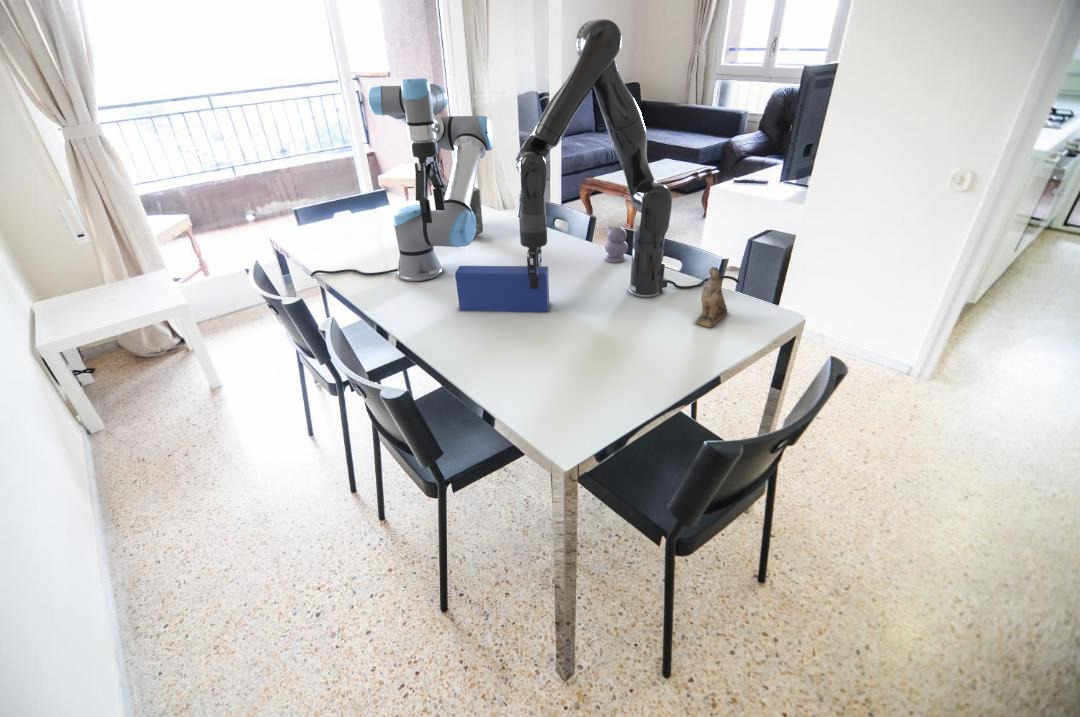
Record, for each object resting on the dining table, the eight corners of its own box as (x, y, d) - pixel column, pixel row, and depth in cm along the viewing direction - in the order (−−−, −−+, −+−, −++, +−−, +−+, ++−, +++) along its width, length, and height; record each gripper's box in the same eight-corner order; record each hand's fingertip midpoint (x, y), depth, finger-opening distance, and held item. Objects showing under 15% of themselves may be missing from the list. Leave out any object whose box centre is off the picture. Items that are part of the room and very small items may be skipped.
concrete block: (488, 238, 207) (483, 189, 196) (469, 243, 203) (464, 193, 192) (458, 224, 226) (452, 179, 215) (440, 228, 221) (434, 182, 211)
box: (459, 310, 149) (454, 273, 143) (464, 302, 154) (459, 265, 148) (547, 312, 147) (546, 273, 140) (549, 303, 152) (548, 266, 145)
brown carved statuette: (709, 335, 136) (713, 280, 124) (691, 329, 139) (693, 274, 128) (730, 313, 142) (736, 258, 130) (712, 307, 145) (716, 253, 133)
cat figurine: (631, 259, 181) (633, 226, 175) (619, 265, 176) (620, 231, 170) (612, 254, 186) (614, 222, 180) (599, 259, 181) (600, 227, 175)
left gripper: (422, 148, 129) (434, 228, 140) (447, 134, 150) (456, 205, 162) (395, 148, 130) (409, 228, 141) (423, 135, 151) (433, 205, 162)
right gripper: (544, 235, 130) (546, 294, 139) (549, 219, 142) (550, 274, 151) (516, 235, 131) (519, 294, 140) (523, 219, 143) (526, 274, 152)
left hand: (434, 216), depth 151 cm, fingers open, 13 cm apart
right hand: (535, 283), depth 145 cm, fingers closed on box, 6 cm apart
